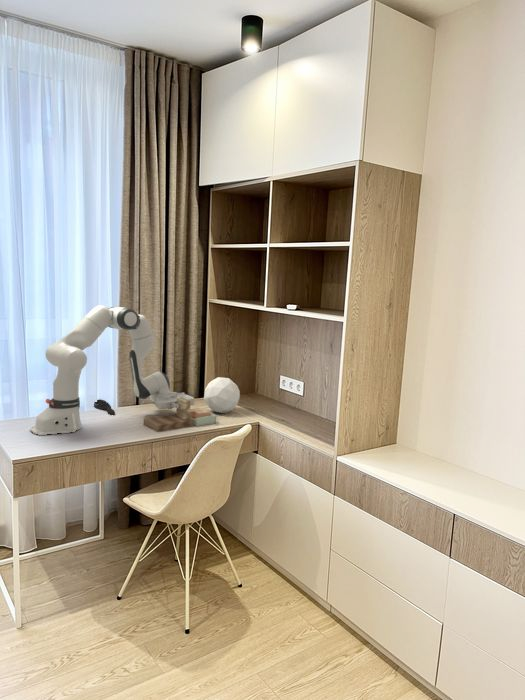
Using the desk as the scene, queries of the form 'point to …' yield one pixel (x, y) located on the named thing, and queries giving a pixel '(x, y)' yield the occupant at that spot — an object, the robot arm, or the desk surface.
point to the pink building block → (201, 414)
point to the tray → (204, 419)
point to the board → (167, 422)
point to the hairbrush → (104, 406)
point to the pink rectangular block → (193, 412)
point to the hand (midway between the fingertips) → (183, 405)
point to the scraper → (183, 408)
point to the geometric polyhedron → (221, 395)
